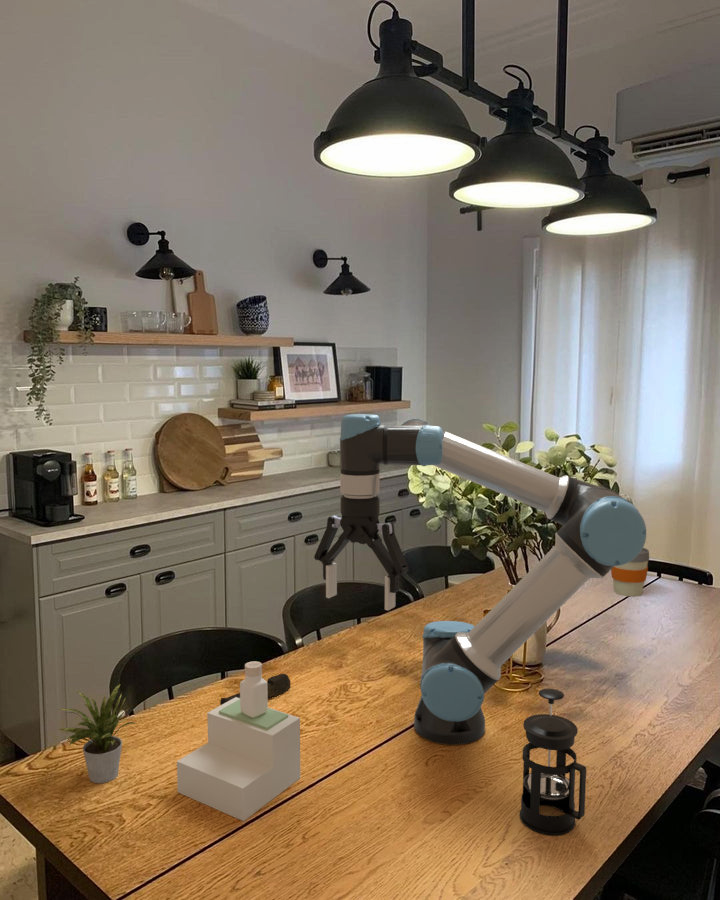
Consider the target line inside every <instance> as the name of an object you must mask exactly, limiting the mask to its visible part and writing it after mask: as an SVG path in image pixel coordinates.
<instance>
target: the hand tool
mask: <svg viewBox="0 0 720 900" xmlns="http://www.w3.org/2000/svg"><path fill="white" fill-rule="evenodd" d="M288 689H289V690H290V689H291V680H290V677H289V675H287V674H286V673H278V674H277V675H273V676H271V677H268V678H267V692H268V699H269V698H272V697H276V698H278V697H280V696H282V695H283V694H285V693H286V692H287V690H288ZM289 690H288V691H289ZM284 692H285V693H284ZM282 693H283V694H282ZM281 694H282V695H281ZM279 695H280V696H279ZM277 696H278V697H277ZM235 697H237V698H240V692H238V693H236V694H233V695H231V696H228V697H221V698H220V700H219V701H220V702H219V703H220V705H219V706H221V705H222V704H224V703H226V702H228V701H230V700H232V699H233V698H235Z"/></svg>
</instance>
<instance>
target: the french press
mask: <svg viewBox="0 0 720 900" xmlns="http://www.w3.org/2000/svg"><path fill="white" fill-rule="evenodd" d="M538 695H539V697H541V698H543V699H545V700H547V701H548V704H549V713H547V714H546V713H545V714H544V713H541V714H534V715H530V716H528V717H526V718H525V719H524V721H523V728H524V729H523V730H525V737H526V740H527V741H528V742H527V743H526V744H524V746H523V748H522V757H521V758H522V762H523V770H522V771H523V774H522V794H521V797H520V798H521V799H520V810H519V818H520V821H521V823H522V824H523V825H524V827H526V828H527V829H529V830H530V831H533V832H535V833H537V834H541V835H545V836H550V837H551V836H552V837H554V836H557V837H559V836H562V835H567V834H568V833H570V832H572V831H573V830H574V829H575V826H576V820H581V819H582V818H584V816H585V811H586V789H587V787H586V786H587V766H586V765H584V764H581V763H578V762H577V753H576V752H575V751H574V750H573V749H572V748H571V747H573V746H574V745H575V737H576V736H577V734H578V733H579V732H578V726H577V725H576V724H575V723H574V722H573V721H571V720H570V719H568V718H565V717H564V716H559V715H556V714H553V705H554V704H555V701H560V700H561V699H564V697H565V693H564V692H562V691H561V690H559V689H557V688H548V687H546V688H542V689H540V690H539V691H538ZM535 749H543V750H548V751H547V752H548V755H547V756H548V757H547V765H543V764H540V763H537V762H535V761H532V760H531V759H530V757H531V756H530V755H531V750H535ZM551 751H556V759H555V760H556V761H555V762H556V765H555V766H551V753H552V752H551ZM567 755H568V756H570V757H571V759H572V760H573V761H572V762H571V763H570V764H568V765H567ZM530 769H531V772H530ZM576 771H577V772H579V783H578V786H579V788H578V791H579V792H578V810H576V809H575V808H576V803H575V790H576V787H575V785H576V781H575V780H576ZM567 774H569V776H568V777H569V778H568V777H567V776H566V775H567ZM541 806H545V807H550V808H555V809H557V810H558V811H560V812H562V813H563V814H561V815H548V814H543V813H541Z"/></svg>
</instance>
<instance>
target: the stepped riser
mask: <svg viewBox="0 0 720 900" xmlns="http://www.w3.org/2000/svg"><path fill="white" fill-rule="evenodd" d="M206 716H207V717H206V719H207V743H205V744H203V745H202V746H200V747H198V748H196V749H195V750H193V751H192V752H190V753H188V754H187V755H185V756H183V757H181V758H180V759H178V760H177V761H176V778H177V780H176V781H177V783H176V784H177V793H179V794H181V795H183V796H184V797H185V796H186V797H188V798H190V799H192V800H194V801H197V802H198V803H200V804H203V805H206V806H208V807H210V808H212V809H216V810H217V811H219V812H222V813H224V814H226V815H229V816H231V817H234V818H235V819H238V820H240V821H242V822H245V821H246V820H247V819H249V818H250V817H251V816H252V815H254V814H255V813H256V812H258V811H259V810H260V809H262V808H263V807H264V806H266V805H267V804H268V803H270V802H271V801H273V799H275V798H276V797H277V796H279V795H280V794H282V793H283V792H285V790H287V789H288V788H289V787H290V786H292V785H294V784H295V783H296V782H297V781H298V780H300V779H301V718H300V717H298V716H295V715H292V714H289V713H286V712H285V711H284V712H283V711H280V710H277V709H274V708H271V707H268V710H267V712H266V713H264V714H261V715H259V716H257V717H255V718H251V717H249V716H247V715H245V714H243V713H242V712H241V710H240V698H237V697H235V698H233V699H232V700H230V701H228V702H226V703H224V704H222V705H221V706H220V705H219V706H217V707H215V708H214V709H212V710H210V711H208V712H207V714H206Z"/></svg>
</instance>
